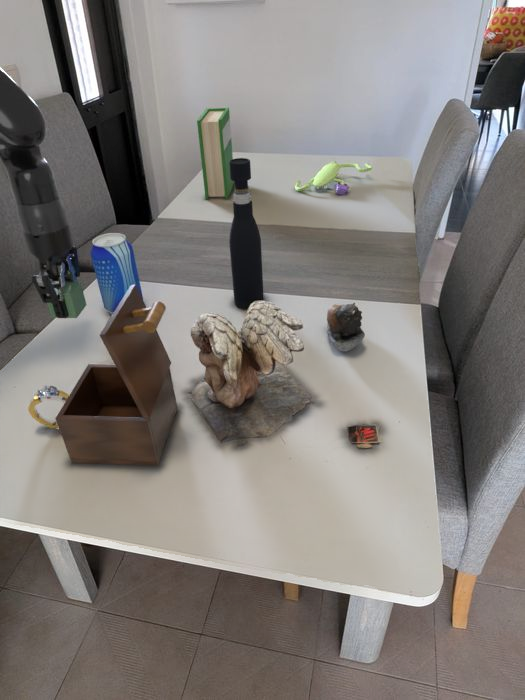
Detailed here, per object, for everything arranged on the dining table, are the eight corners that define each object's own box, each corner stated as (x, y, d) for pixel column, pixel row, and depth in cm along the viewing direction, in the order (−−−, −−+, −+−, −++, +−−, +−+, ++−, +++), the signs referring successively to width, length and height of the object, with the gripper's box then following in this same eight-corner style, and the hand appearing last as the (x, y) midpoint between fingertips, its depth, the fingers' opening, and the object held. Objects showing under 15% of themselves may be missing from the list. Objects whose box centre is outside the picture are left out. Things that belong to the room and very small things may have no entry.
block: (51, 317, 97) (44, 294, 94) (62, 304, 101) (55, 281, 98) (76, 318, 96) (70, 294, 93) (86, 304, 100) (80, 281, 97)
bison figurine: (321, 324, 104) (322, 279, 98) (356, 322, 104) (359, 277, 98) (330, 359, 94) (332, 312, 88) (369, 357, 94) (373, 309, 88)
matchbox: (343, 428, 79) (344, 426, 79) (375, 422, 80) (375, 420, 80) (354, 450, 75) (355, 448, 75) (387, 444, 76) (388, 441, 76)
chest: (71, 462, 76) (54, 418, 71) (101, 405, 86) (88, 363, 81) (157, 466, 75) (147, 421, 70) (177, 407, 85) (169, 365, 80)
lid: (99, 335, 62) (140, 327, 61) (130, 285, 72) (166, 277, 71) (144, 419, 70) (181, 414, 68) (166, 363, 80) (199, 358, 79)
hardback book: (228, 198, 167) (221, 119, 153) (205, 199, 168) (196, 120, 154) (234, 181, 182) (228, 107, 168) (213, 182, 182) (206, 108, 168)
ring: (84, 421, 83) (71, 382, 79) (77, 435, 81) (63, 396, 76) (43, 420, 84) (28, 382, 79) (34, 434, 81) (18, 395, 77)
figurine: (377, 177, 178) (378, 161, 175) (338, 200, 161) (338, 182, 158) (331, 170, 188) (331, 154, 184) (289, 191, 171) (289, 174, 167)
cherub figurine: (272, 355, 96) (269, 268, 85) (325, 412, 82) (328, 317, 72) (182, 386, 90) (167, 296, 79) (224, 453, 76) (211, 356, 66)
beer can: (97, 310, 112) (79, 241, 103) (128, 294, 117) (113, 227, 108) (121, 322, 108) (104, 251, 98) (152, 305, 113) (138, 237, 104)
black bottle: (254, 312, 109) (245, 167, 91) (228, 305, 111) (215, 163, 94) (269, 298, 113) (263, 157, 96) (244, 292, 116) (234, 154, 98)
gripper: (41, 209, 95) (64, 291, 104) (3, 240, 83) (33, 329, 93) (81, 209, 94) (100, 291, 104) (47, 240, 82) (73, 330, 92)
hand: (68, 309), depth 98 cm, fingers closed on block, 5 cm apart
